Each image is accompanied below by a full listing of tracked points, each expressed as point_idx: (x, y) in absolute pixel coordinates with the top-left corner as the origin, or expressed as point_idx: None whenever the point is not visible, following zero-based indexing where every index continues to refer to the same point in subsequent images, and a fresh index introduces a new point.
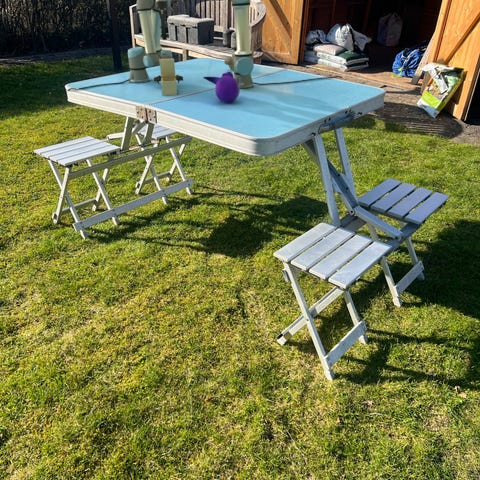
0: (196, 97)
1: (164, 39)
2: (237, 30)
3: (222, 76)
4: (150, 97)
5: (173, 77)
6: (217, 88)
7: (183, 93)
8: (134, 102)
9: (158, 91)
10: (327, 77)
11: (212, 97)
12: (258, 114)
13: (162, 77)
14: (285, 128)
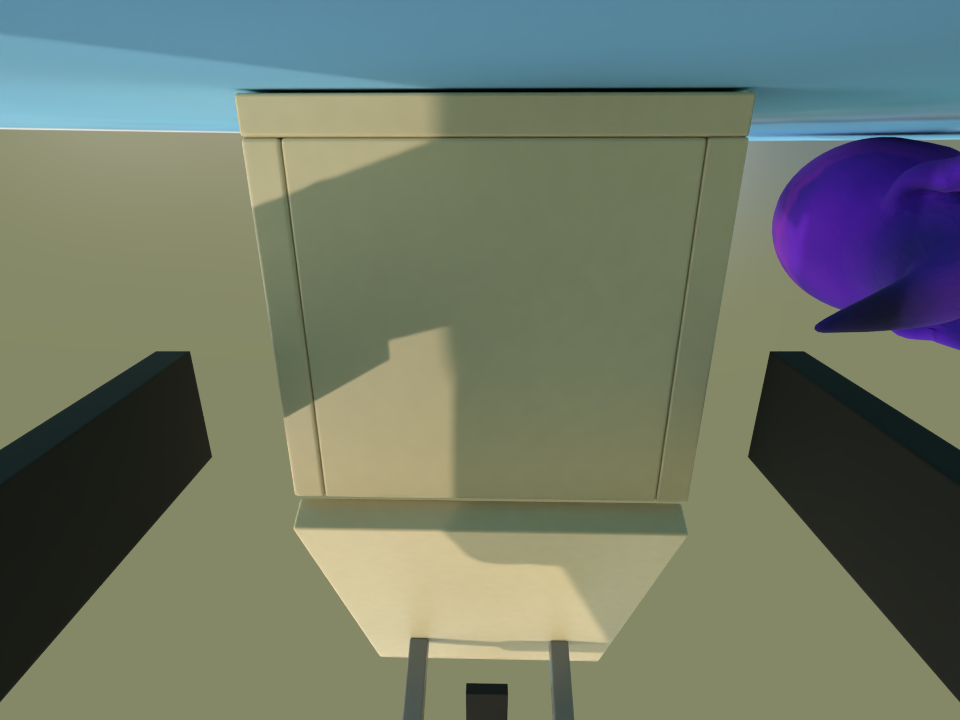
0: (785, 127)
1: (485, 685)
2: None
3: (834, 306)
4: (216, 123)
5: (626, 490)
6: (773, 236)
7: (757, 115)
8: (154, 130)
9: (40, 84)
10: None
11: (933, 128)
12: (832, 138)
13: (332, 499)
14: (787, 140)
